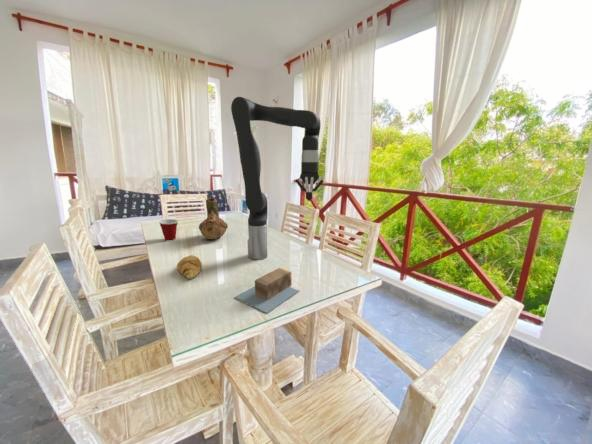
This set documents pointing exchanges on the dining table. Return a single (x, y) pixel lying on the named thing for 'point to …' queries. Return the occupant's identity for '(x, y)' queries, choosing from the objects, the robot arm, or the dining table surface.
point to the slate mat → (264, 304)
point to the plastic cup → (169, 228)
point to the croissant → (189, 266)
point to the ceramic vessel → (213, 221)
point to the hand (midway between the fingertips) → (309, 200)
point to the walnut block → (272, 283)
